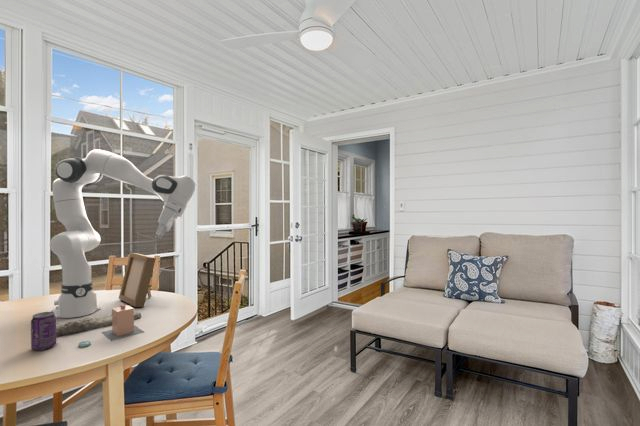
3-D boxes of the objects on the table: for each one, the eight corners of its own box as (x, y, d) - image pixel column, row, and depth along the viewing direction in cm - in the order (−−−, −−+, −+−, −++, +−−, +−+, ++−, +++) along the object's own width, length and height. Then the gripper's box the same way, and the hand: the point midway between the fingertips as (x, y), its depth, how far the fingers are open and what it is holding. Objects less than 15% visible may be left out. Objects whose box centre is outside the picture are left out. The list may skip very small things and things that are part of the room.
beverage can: (40, 343, 127) (40, 311, 127) (61, 343, 128) (60, 311, 127) (25, 351, 120) (25, 317, 120) (47, 351, 121) (47, 317, 120)
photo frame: (134, 308, 169) (135, 258, 169) (118, 300, 183) (119, 253, 183) (164, 302, 180) (165, 255, 180) (147, 295, 195) (147, 251, 194)
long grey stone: (144, 323, 153) (137, 319, 160) (145, 311, 154) (137, 308, 161) (45, 341, 129) (41, 335, 136) (45, 326, 129) (42, 321, 136)
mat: (101, 333, 137) (101, 332, 137) (133, 326, 146) (133, 324, 146) (111, 342, 129) (111, 340, 129) (144, 333, 138) (144, 332, 138)
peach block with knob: (112, 332, 137) (112, 305, 137) (128, 328, 142) (128, 302, 141) (117, 336, 133) (117, 308, 133) (133, 332, 138) (133, 305, 137)
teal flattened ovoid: (77, 347, 124) (77, 343, 124) (88, 344, 127) (88, 340, 127) (79, 350, 122) (79, 345, 122) (91, 347, 125) (91, 342, 125)
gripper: (168, 210, 165) (153, 236, 161) (165, 200, 147) (148, 229, 142) (180, 216, 167) (166, 242, 162) (179, 207, 148) (163, 236, 144)
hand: (158, 236), depth 152 cm, fingers open, 8 cm apart
